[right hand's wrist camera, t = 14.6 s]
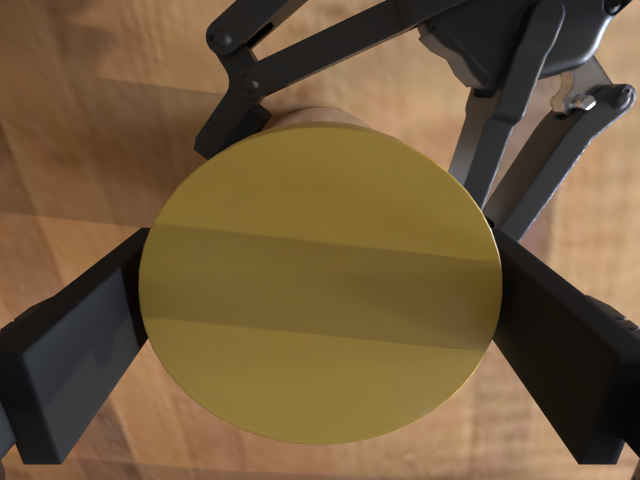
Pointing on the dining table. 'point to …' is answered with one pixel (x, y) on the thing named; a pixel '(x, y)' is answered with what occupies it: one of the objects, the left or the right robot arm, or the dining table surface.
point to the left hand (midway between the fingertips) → (266, 276)
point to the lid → (320, 284)
